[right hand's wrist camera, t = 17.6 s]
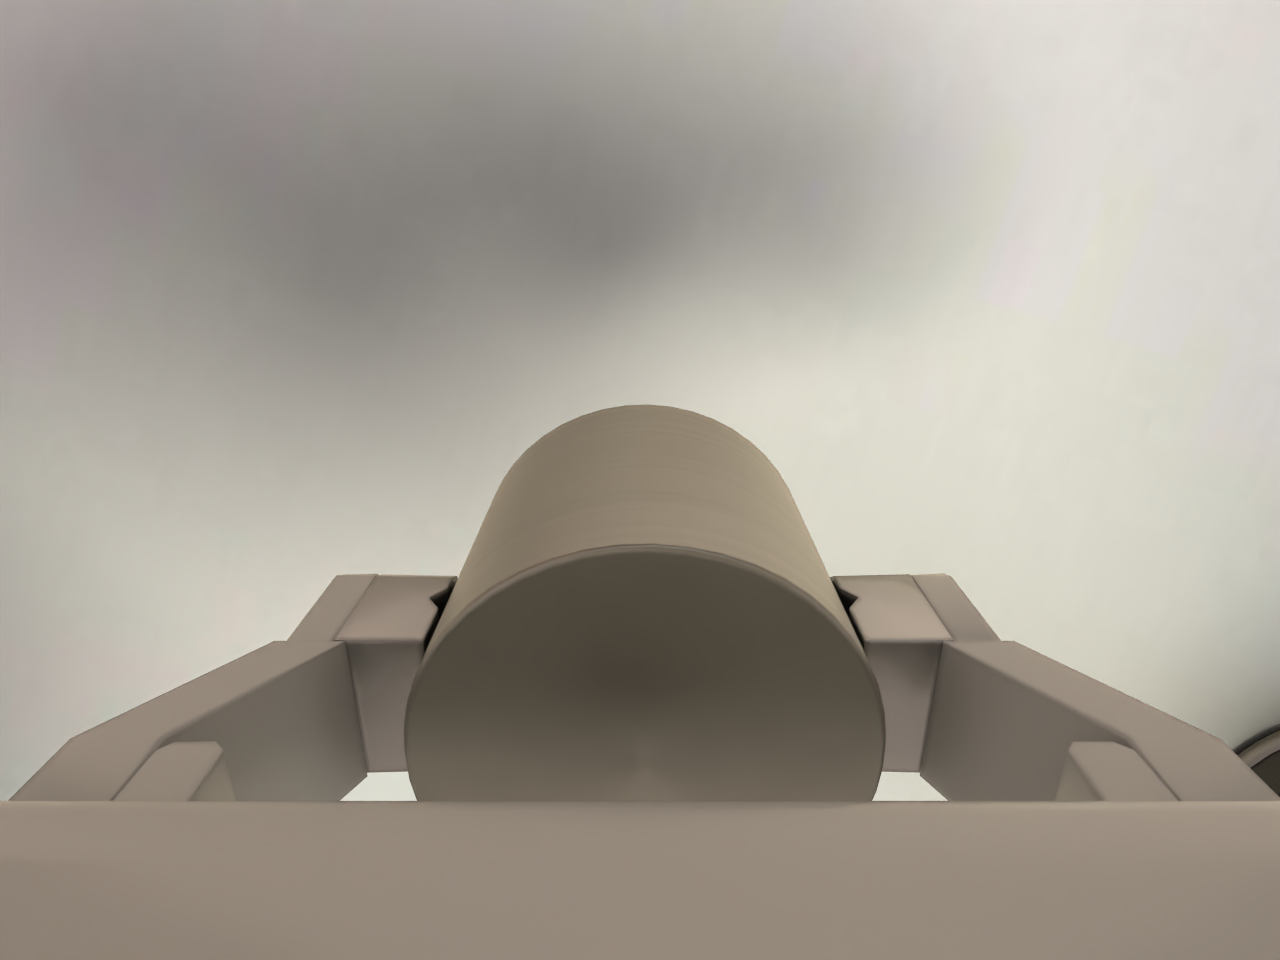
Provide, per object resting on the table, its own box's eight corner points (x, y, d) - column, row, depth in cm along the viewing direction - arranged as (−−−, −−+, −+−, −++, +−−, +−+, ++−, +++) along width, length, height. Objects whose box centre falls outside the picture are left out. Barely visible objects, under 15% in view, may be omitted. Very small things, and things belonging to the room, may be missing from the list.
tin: (822, 653, 12) (912, 892, 8) (535, 710, 13) (486, 964, 9) (772, 368, 11) (854, 494, 7) (442, 445, 11) (325, 606, 7)
